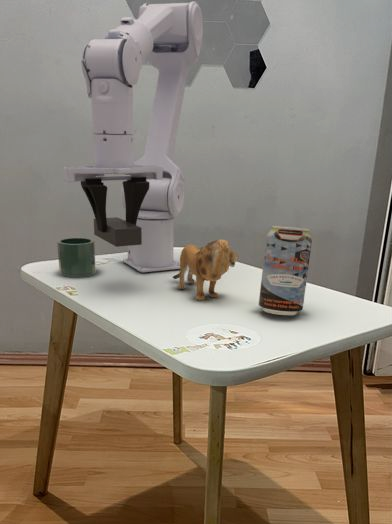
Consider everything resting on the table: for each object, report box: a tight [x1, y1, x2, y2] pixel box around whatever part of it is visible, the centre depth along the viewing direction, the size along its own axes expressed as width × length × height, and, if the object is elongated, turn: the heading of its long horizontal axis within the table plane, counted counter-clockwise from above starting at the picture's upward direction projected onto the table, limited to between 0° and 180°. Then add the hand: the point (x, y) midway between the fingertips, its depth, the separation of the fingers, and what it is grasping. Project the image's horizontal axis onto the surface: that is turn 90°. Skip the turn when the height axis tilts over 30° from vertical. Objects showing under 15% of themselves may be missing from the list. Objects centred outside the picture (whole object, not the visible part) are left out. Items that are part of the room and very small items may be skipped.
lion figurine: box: [172, 239, 240, 301], centre depth 86 cm, size 15×5×9 cm, turn 35°
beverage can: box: [258, 225, 313, 316], centre depth 76 cm, size 6×7×12 cm
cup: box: [56, 237, 97, 278], centre depth 96 cm, size 6×6×6 cm
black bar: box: [93, 216, 142, 248], centre depth 85 cm, size 10×4×2 cm, turn 28°
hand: (116, 230), depth 85 cm, fingers closed on black bar, 4 cm apart
